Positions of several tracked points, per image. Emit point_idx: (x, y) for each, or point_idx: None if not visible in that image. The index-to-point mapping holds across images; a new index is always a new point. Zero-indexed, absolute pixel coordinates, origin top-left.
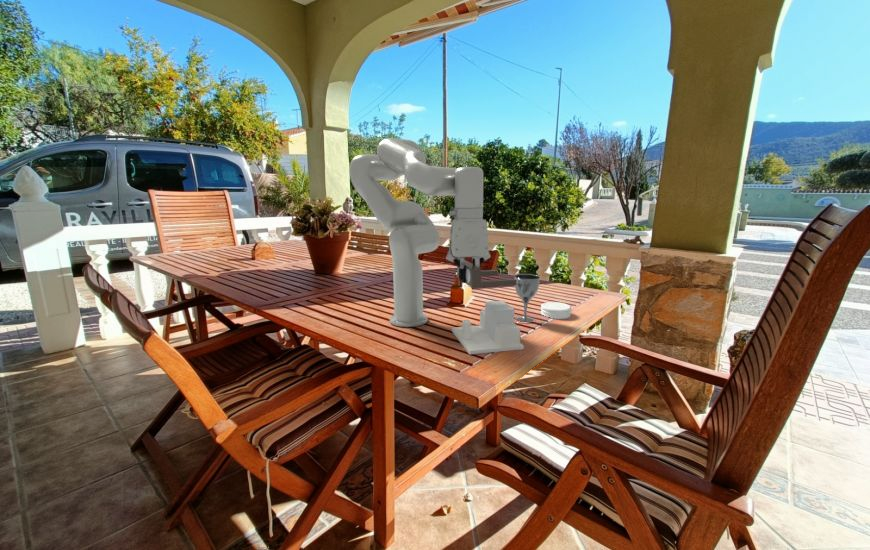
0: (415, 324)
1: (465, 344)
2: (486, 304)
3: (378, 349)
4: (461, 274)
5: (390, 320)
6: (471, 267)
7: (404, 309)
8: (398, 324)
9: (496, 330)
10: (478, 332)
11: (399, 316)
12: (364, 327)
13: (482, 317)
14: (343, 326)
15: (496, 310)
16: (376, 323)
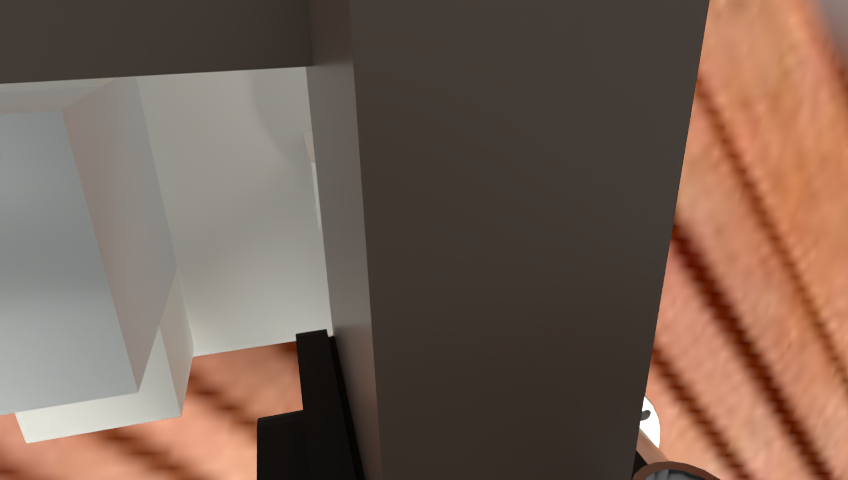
0: None
1: None
2: (132, 353)
3: (786, 111)
4: None
5: (659, 429)
6: (598, 274)
7: (649, 453)
8: None
9: None
10: (226, 240)
11: (643, 431)
12: (762, 377)
13: (175, 349)
14: (830, 389)
15: (53, 116)
16: (704, 421)
